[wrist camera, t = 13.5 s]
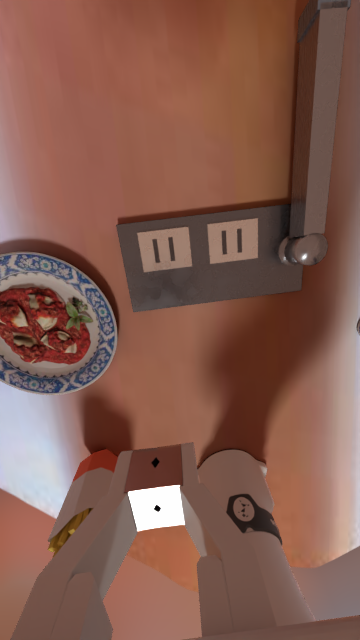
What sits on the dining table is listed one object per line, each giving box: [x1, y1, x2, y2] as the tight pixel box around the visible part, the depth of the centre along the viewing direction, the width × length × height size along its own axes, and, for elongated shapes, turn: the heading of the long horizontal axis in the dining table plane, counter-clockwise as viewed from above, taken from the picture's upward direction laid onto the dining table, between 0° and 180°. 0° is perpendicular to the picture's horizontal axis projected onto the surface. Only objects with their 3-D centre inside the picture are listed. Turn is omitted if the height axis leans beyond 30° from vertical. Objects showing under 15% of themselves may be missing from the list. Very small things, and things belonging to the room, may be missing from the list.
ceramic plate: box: [0, 252, 117, 395], centre depth 35 cm, size 26×26×3 cm
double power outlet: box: [116, 204, 303, 312], centre depth 33 cm, size 14×30×2 cm, turn 97°
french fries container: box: [48, 449, 118, 557], centre depth 38 cm, size 5×11×18 cm, turn 40°
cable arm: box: [284, 0, 351, 265], centre depth 27 cm, size 4×29×4 cm, turn 6°
